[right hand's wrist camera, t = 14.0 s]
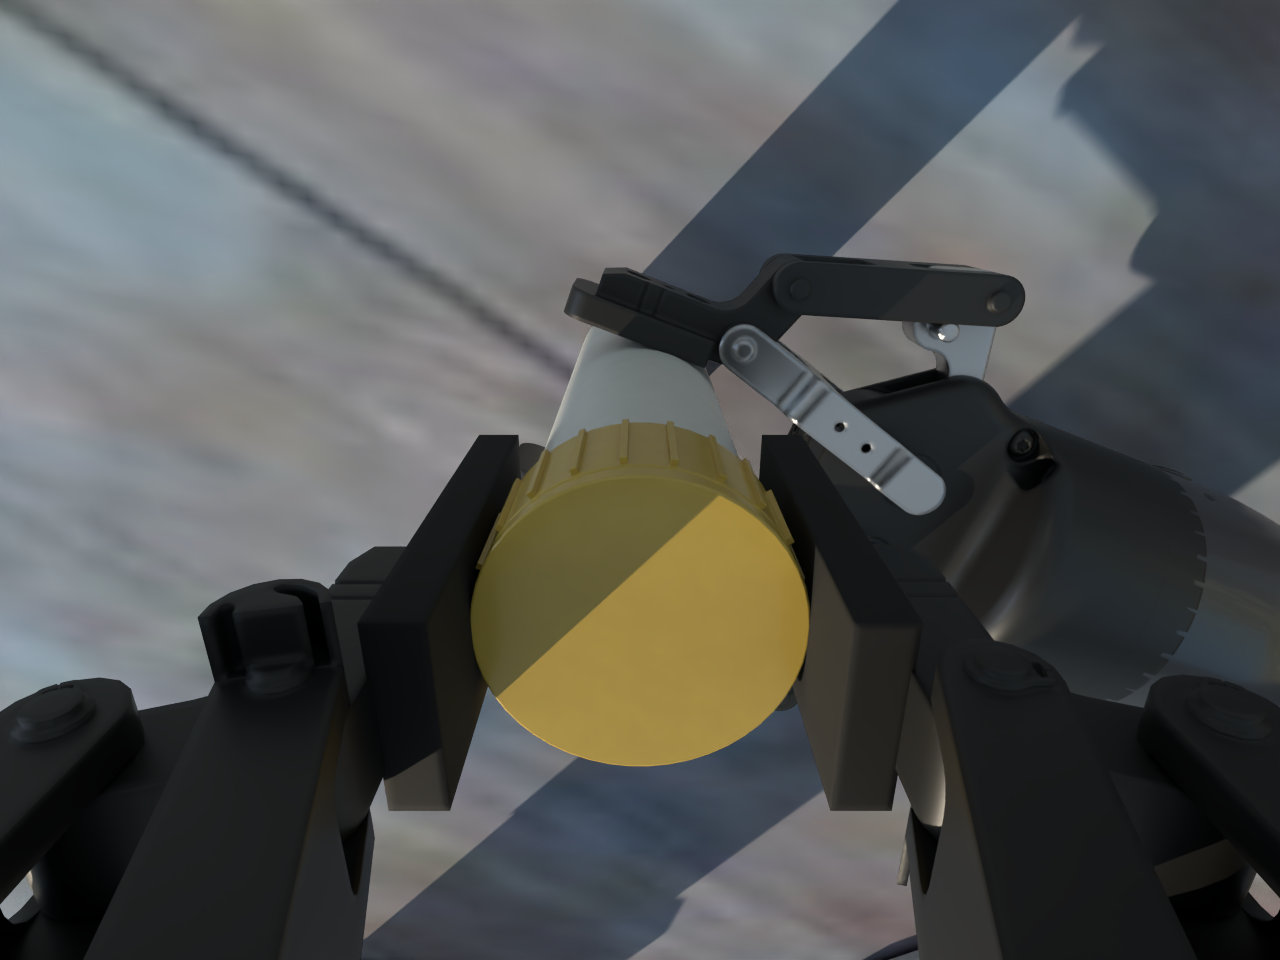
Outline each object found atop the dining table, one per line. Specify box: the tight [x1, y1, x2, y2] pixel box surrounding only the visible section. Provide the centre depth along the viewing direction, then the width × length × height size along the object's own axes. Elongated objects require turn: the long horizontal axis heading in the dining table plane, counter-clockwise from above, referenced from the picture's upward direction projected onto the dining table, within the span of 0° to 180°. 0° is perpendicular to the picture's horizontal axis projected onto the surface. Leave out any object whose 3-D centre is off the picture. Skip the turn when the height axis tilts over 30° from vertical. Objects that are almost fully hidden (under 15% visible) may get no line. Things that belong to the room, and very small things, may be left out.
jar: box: [545, 326, 739, 458], centre depth 18 cm, size 4×4×16 cm
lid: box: [470, 419, 810, 766], centre depth 11 cm, size 5×5×2 cm
